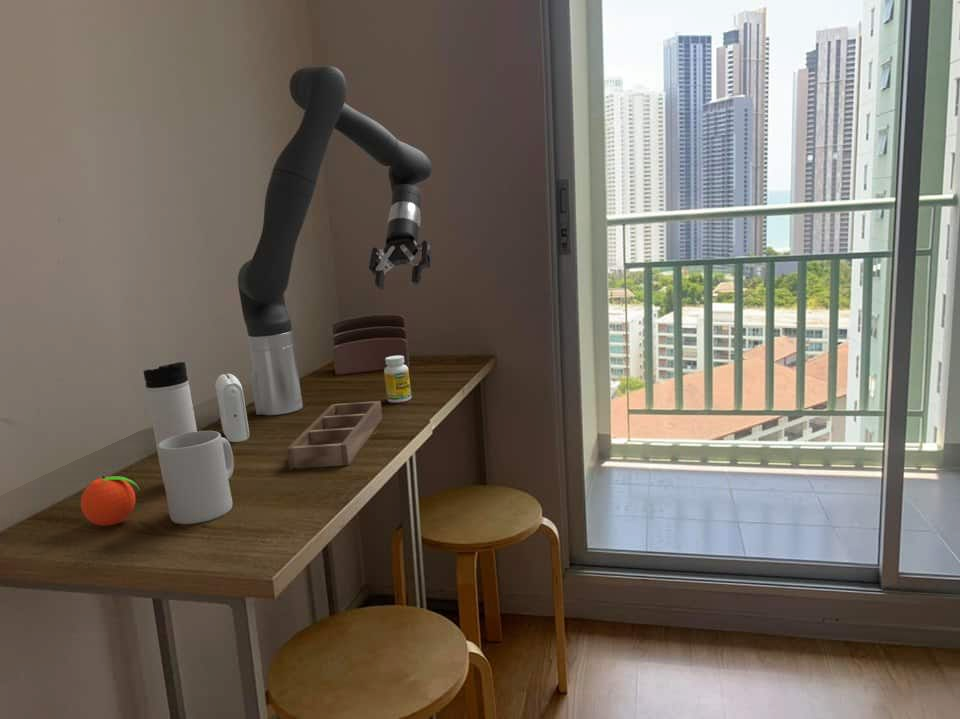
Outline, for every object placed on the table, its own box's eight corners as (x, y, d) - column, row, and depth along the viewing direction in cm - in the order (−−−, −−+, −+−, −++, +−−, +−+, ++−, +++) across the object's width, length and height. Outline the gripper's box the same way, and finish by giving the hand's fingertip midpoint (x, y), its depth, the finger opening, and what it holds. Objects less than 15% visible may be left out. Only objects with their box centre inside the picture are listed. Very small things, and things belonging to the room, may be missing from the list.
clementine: (153, 510, 109) (145, 464, 107) (138, 529, 102) (128, 480, 100) (97, 517, 108) (87, 471, 106) (77, 537, 101) (67, 488, 100)
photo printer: (252, 439, 141) (242, 376, 139) (229, 444, 139) (218, 380, 137) (243, 428, 150) (233, 368, 148) (221, 432, 148) (211, 372, 146)
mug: (206, 526, 101) (193, 449, 99) (157, 522, 104) (143, 448, 101) (259, 493, 112) (248, 423, 110) (213, 490, 115) (202, 423, 112)
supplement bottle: (401, 395, 166) (396, 353, 164) (416, 398, 162) (412, 355, 160) (382, 401, 162) (377, 358, 160) (397, 404, 158) (392, 360, 156)
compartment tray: (289, 468, 122) (286, 448, 121) (333, 421, 149) (331, 404, 148) (348, 465, 121) (346, 444, 120) (382, 417, 148) (380, 400, 148)
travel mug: (181, 493, 115) (159, 367, 111) (155, 487, 118) (133, 366, 114) (214, 479, 120) (194, 359, 116) (189, 474, 123) (168, 357, 120)
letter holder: (337, 368, 204) (331, 318, 202) (409, 360, 206) (403, 311, 204) (335, 376, 195) (328, 323, 192) (410, 367, 197) (404, 315, 194)
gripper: (369, 221, 172) (361, 280, 165) (426, 212, 168) (420, 273, 161) (382, 238, 179) (375, 297, 172) (437, 231, 174) (432, 290, 168)
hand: (397, 285), depth 166 cm, fingers open, 8 cm apart
